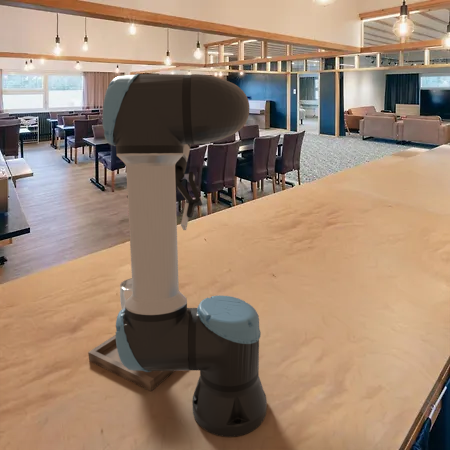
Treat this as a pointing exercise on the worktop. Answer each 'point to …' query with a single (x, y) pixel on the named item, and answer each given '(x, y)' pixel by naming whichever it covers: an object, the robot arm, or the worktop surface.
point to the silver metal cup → (125, 291)
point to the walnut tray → (110, 361)
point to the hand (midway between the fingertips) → (157, 226)
